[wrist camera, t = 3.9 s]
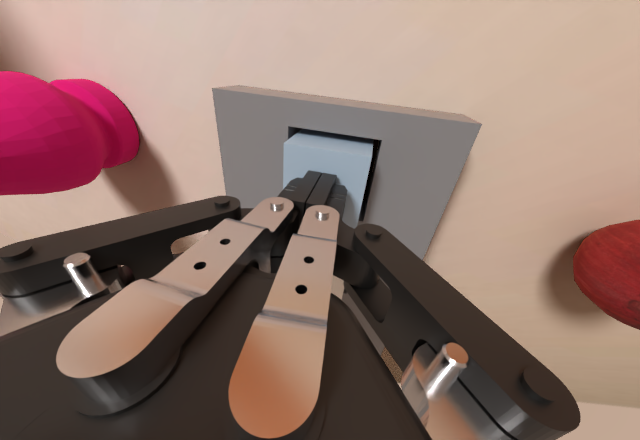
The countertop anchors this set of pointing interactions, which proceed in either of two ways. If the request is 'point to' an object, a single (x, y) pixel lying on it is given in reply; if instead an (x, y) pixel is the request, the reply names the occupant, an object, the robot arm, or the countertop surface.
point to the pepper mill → (59, 133)
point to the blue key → (331, 163)
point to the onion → (612, 270)
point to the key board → (356, 120)
